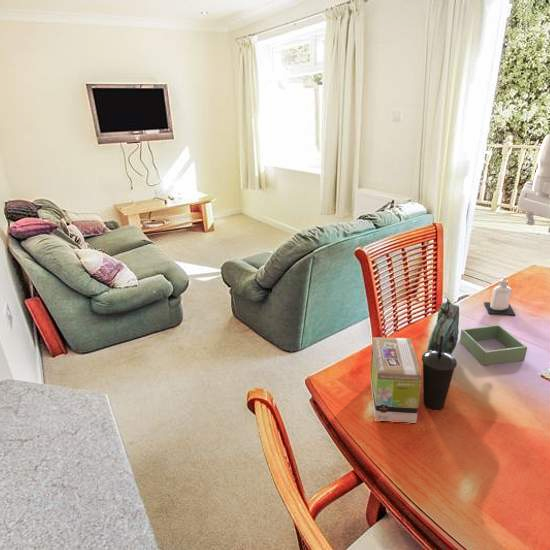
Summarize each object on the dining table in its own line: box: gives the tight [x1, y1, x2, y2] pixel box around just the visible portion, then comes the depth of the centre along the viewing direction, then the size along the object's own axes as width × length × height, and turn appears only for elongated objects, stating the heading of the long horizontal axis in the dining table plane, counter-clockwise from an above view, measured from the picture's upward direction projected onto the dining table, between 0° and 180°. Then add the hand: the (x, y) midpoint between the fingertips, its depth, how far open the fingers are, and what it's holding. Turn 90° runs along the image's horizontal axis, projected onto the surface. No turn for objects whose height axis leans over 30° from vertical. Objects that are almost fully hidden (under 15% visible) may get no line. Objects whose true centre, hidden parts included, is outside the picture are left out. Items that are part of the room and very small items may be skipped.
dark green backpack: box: [426, 297, 460, 355], centre depth 102 cm, size 20×6×20 cm, turn 146°
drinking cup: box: [421, 336, 458, 411], centre depth 90 cm, size 8×8×20 cm
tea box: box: [370, 336, 423, 424], centre depth 93 cm, size 15×10×15 cm, turn 171°
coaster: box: [483, 301, 516, 317], centre depth 131 cm, size 8×8×1 cm
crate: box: [459, 324, 528, 366], centre depth 110 cm, size 12×12×4 cm
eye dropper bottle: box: [490, 276, 513, 310], centre depth 129 cm, size 4×6×12 cm
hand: (540, 228), depth 119 cm, fingers open, 8 cm apart
